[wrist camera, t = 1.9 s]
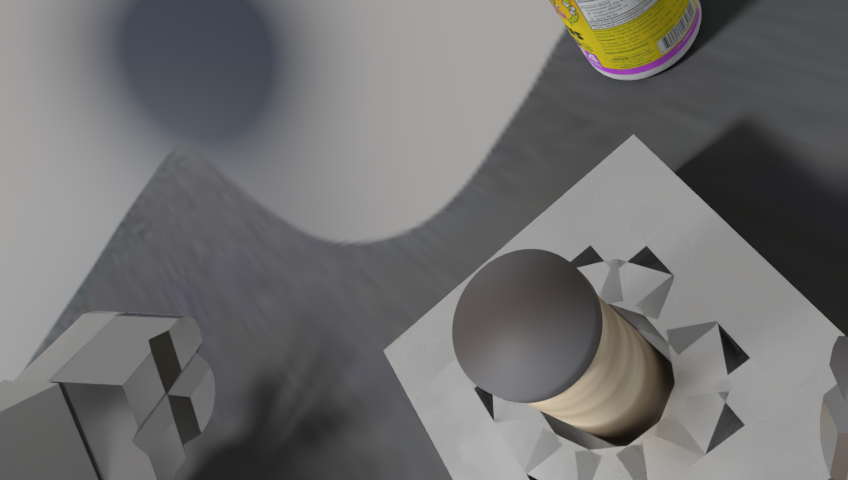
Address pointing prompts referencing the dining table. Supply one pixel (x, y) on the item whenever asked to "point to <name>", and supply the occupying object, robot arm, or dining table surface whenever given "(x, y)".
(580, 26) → the supplement bottle
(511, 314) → the beige and grey cylinder
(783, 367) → the bore housing
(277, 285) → the dining table surface
